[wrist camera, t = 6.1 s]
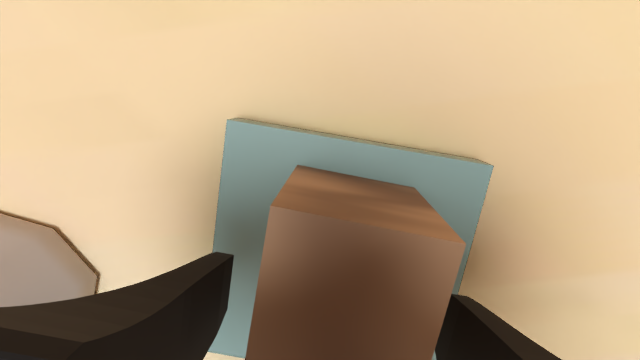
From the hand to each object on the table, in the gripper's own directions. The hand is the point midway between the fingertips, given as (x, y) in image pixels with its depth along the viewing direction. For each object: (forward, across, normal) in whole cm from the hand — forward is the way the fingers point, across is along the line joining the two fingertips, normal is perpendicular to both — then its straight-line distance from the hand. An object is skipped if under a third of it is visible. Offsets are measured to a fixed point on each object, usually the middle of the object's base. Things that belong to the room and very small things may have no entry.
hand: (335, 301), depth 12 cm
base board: (+4, 0, 0) cm, 4 cm away
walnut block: (+3, 0, -2) cm, 3 cm away
